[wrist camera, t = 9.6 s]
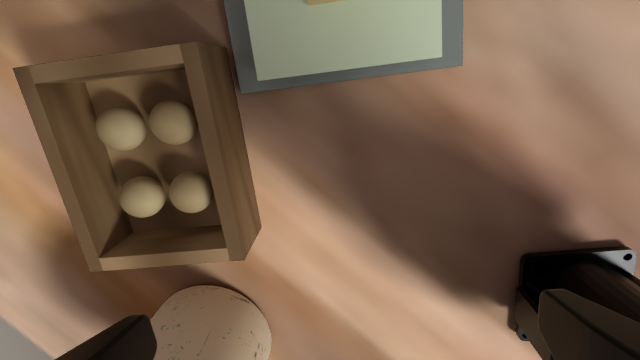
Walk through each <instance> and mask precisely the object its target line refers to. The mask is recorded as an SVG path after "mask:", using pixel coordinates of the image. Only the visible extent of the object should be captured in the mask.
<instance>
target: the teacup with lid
mask: <svg viewBox="0 0 640 360" xmlns="http://www.w3.org/2000/svg"><path fill="white" fill-rule="evenodd" d="M150 322H151V325H152V328H153V331H154V334H155V337H156V340H157V351H156V354H155V357H154V359H153V360H268V357H269V353H270V349H271V333H270V329H269V326H268V323H267V321H266V319H265V317H264V315H263V314H262V313H261V311H260V310H259V309H258V308H257V307H256V306H255V305H254V304H253V303H252V302H251V301H250V300H248V299H247V298H246V297H244V296H243V295H241V294H239V293H237V292H235V291H233V290H230V289H227V288H223V287H219V286H211V285H200V286H193V287H189V288H185V289H183V290H180V291H178V292H176V293H175V294H173V295H172V296H171V297H169V298H168V299H167V300H166V301H165V302H164V303H163V304H162V306H161V307H160V308H159V310H158V311H157V312H156V313H155V315H154V316H153V317H152V319H151V320H150Z"/></svg>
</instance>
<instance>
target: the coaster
mask: <svg viewBox="0 0 640 360" xmlns="http://www.w3.org/2000/svg"><path fill="white" fill-rule="evenodd" d="M223 1H224V6H225V12H226V17H227V22H228V27H229V33H230V38H231V43H232V49H233V54H234V59H235V64H236V70H237V75H238V80H239V86H240V91H241V94H244V93H252V92H260V91H268V90H276V89H284V88H291V87H299V86H307V85H315V84H323V83H331V82H338V81H346V80H354V79H362V78H370V77H378V76H385V75H393V74H401V73H409V72H417V71H425V70H432V69H440V68H448V67H456V66H463V0H442V57H439V58H432V59H425V60H417V61H409V62H401V63H394V64H386V65H378V66H371V67H363V68H355V69H348V70H340V71H332V72H324V73H317V74H309V75H301V76H294V77H286V78H278V79H271V80H263V81H258V80H257V74H256V68H255V62H254V57H253V51H252V45H251V39H250V33H249V27H248V22H247V16H246V10H245V4H244V0H223Z"/></svg>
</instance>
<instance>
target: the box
mask: <svg viewBox="0 0 640 360" xmlns="http://www.w3.org/2000/svg"><path fill="white" fill-rule="evenodd" d="M13 71H14V73H15V76H16V79H17V81H18V84H19V87H20V89H21V92H22V94H23V97H24V100H25V102H26V105H27V108H28V110H29V113H30V115H31V118H32V121H33V123H34V126H35V129H36V131H37V134H38V136H39V139H40V142H41V144H42V147H43V150H44V152H45V155H46V157H47V160H48V163H49V165H50V168H51V170H52V173H53V176H54V178H55V181H56V184H57V186H58V189H59V191H60V194H61V197H62V199H63V202H64V205H65V207H66V210H67V212H68V215H69V218H70V220H71V223H72V226H73V228H74V231H75V233H76V236H77V239H78V241H79V244H80V247H81V249H82V252H83V254H84V257H85V260H86V262H87V265H88V268H89V270H90V272H97V271H110V270H123V269H136V268H149V267H162V266H175V265H188V264H201V263H214V262H227V261H240V260H245V258H246V256H247V254H248V252H249V250H250V248H251V246H252V245H253V243H254V241H255V239H256V237H257V235H258V233H259V231H260V229H261V222H260V217H259V212H258V207H257V201H256V196H255V191H254V186H253V181H252V176H251V171H250V165H249V160H248V155H247V150H246V145H245V140H244V134H243V129H242V124H241V119H240V114H239V109H238V103H237V98H236V93H235V88H234V83H233V78H232V72H231V67H230V62H229V57H228V52H227V48H223V47H219V46H215V45H210V44H206V43H202V42H198V41H195V42H188V43H181V44H174V45H167V46H160V47H154V48H147V49H140V50H133V51H126V52H119V53H112V54H106V55H99V56H92V57H85V58H78V59H71V60H64V61H58V62H51V63H44V64H37V65H30V66H23V67H17V68H13Z"/></svg>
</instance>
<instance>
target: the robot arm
mask: <svg viewBox="0 0 640 360" xmlns="http://www.w3.org/2000/svg"><path fill="white" fill-rule="evenodd" d="M625 254H626V256H624V255H625ZM636 258H637V254H636V252H635V251H633V250H632V249H630V248H628V247H624V246H623V247H609V248H595V249H582V250H568V251H554V252H540V253H528V254H525V255H523V256H522V258H521V260H520V273H519V285H518V286H517V288H516V295H515V311H514V320H515V321H516V334H517V335H518V337H519V338H520V340H522V341H530V343H531V344H532V345H533V347H534V348H535V350H536V351H537V352H538V354H539V355H540V357H541V358H542V360H640V280H639V279H638V278H636V277H635V276H634V275H633V274H634V269H635V264H636ZM531 260H533V261H532V262H531V263H529V264H528V262H529V261H531ZM523 333H524V334H523ZM156 351H157V340H156V337H155V334H154V331H153V328H152V325H151V322H150V319H149V318H148V316H146V315H132V316H128V317H126V318H124V319H122V320H121V321H119V322H117V323H116V324H114V325H112V326H111V327H109V328H107V329H105V330H104V331H102V332H100V333H99V334H97V335H95V336H94V337H92V338H90V339H89V340H87V341H85V342H84V343H82V344H80V345H79V346H77V347H75V348H73V349H72V350H70V351H68V352H67V353H65V354H63V355H62V356H60V357H58V358H57V359H55V360H153V359H154V357H155V354H156Z"/></svg>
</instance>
